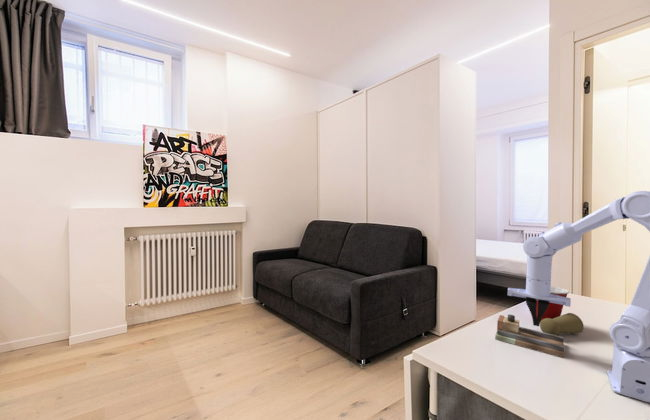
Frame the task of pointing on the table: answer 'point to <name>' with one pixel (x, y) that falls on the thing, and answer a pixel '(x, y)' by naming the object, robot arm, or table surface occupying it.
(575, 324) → the brown rounded lump
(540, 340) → the track
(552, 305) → the plastic cup
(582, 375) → the table surface
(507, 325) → the slider
